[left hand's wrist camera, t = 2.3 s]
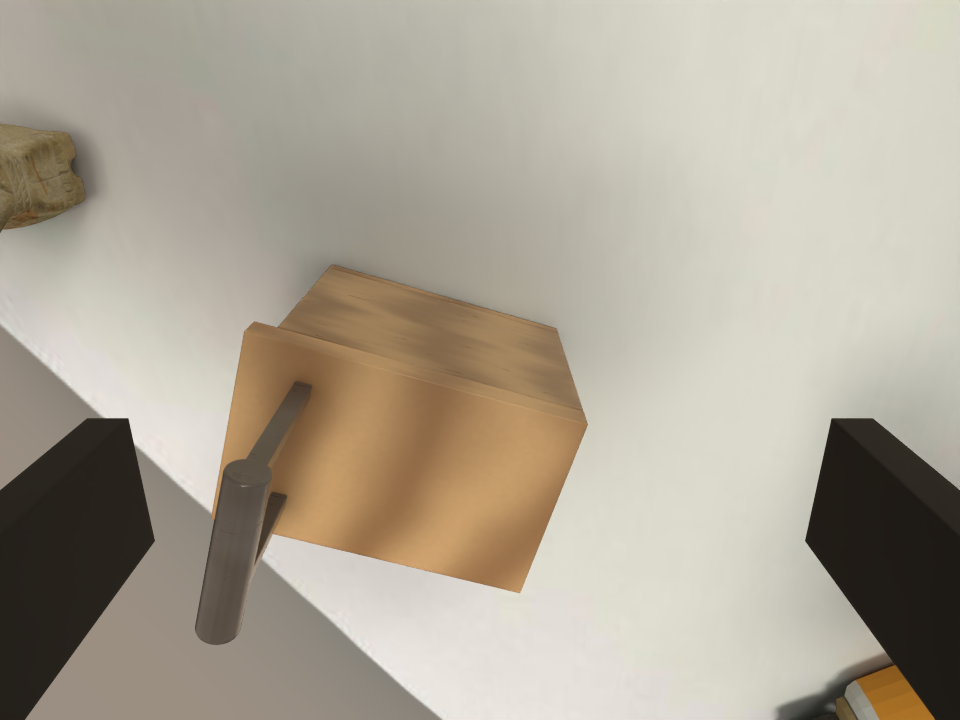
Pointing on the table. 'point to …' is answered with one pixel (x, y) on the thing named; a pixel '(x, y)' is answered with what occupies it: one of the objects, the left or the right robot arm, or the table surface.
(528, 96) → the table surface
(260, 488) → the lid
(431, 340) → the chest
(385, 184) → the table surface
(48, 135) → the sculpture
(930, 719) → the spray gun
